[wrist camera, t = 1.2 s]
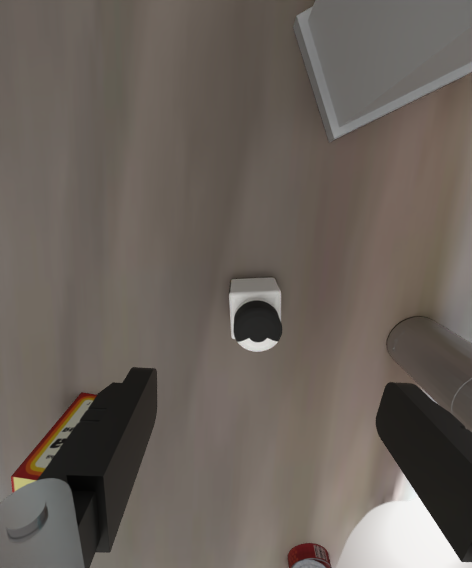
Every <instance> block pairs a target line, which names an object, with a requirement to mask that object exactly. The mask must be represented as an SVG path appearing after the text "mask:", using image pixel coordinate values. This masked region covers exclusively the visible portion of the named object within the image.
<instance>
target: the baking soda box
mask: <svg viewBox="0 0 472 568" xmlns="http://www.w3.org/2000/svg"><path fill="white" fill-rule="evenodd" d="M96 396H97V395H94V394H88V393H81V394H80V395H79V396H78V397H77V399H76V400H75V401H74V402H73V403H72V404H71V406H70V407H69V408H68V409H67V410H66V412H65V413H64V414H63V415H62V416H61V418H60V419H59V420H58V421H57V422H56V424H55V425H54V426H53V427H52V428H51V430H50V431H49V432H48V433H47V434H46V436H45V437H44V438H43V439H42V440H41V441H40V443H39V444H38V445H37V446H36V447H35V449H34V450H33V451H32V452H31V453H30V455H29V456H28V457H27V458H26V459H25V461H24V462H23V463H22V464H21V465H20V467H19V468H18V469H17V470H16V471H15V473H14V474H13V475H12V476H11V481H12V492H15V491H16V490H18V489H19V488H21V487H23V486H25V485H27V484H29V483H32V482H34V481H36V480H37V479H38V478H39V477H40V475H41V474H42V473H43V471H44V470H45V468H46V467H47V466H48V464H49V463H50V461H51V460H52V458H53V457H54V456H55V454H56V453H57V451H58V450H59V449H60V447H61V446H62V444H63V443H64V441H65V440H66V439H67V437H68V436H69V434H70V433H71V432H72V430H73V429H74V427H75V426H76V424H77V423H79V422H80V419H81V417H82V416H83V415H84V413H85V412H86V410H88V407H89V406H90V405H91V403H92V402H93V400H94V399H95V398H96Z"/></svg>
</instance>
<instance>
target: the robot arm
mask: <svg viewBox="0 0 472 568" xmlns="http://www.w3.org/2000/svg"><path fill="white" fill-rule="evenodd" d="M387 350H388V352H389V354H390V356H391V357H392V358H393V359H394V360H395V361H396V362H397V363H398V364H399V365H400V366H401V367H402V368H403V369H404V370H405V371H406V372H407V373H408V374H409V375H410V376H411V377H412V378H413V379H414V380H415V381H416V382H417V383H418V384H419V385H420V386H421V387H422V388H423V389H424V390H425V391H426V392H427V393H428V394H429V395H430V396H431V397H432V398H433V399H434V400H435V401H436V402H437V403H438V404H439V405H438V404H437V403H435V402H433V401H432V400H431V399H430V398H429V397H428V396H427V395H426V394H425V393H424V392H423V391H422V390H421V389H420V388H418V387H417V386H416V385H414V384H411V383H394V382H390V383H388V384H387V385H386V386H385V389H384V392H383V396H382V399H381V402H380V406H379V409H378V412H377V416H376V428H377V432H378V434H379V436H380V438H381V440H382V441H383V443H384V444H385V446H386V447H387V449H388V450H389V452H390V453H391V455H392V457H393V458H394V460H395V461H396V463H397V464H398V466H399V467H400V469H401V470H402V472H403V473H404V475H405V476H406V478H407V479H408V481H409V482H410V484H411V485H412V487H413V488H414V490H415V492H416V493H417V495H418V496H419V498H420V499H421V501H422V502H423V504H424V505H425V507H426V508H427V510H428V511H429V513H430V514H431V516H432V517H433V519H434V520H435V522H436V523H437V525H438V526H439V528H440V529H441V531H442V533H443V534H444V536H445V537H446V539H447V540H448V542H449V543H450V545H451V546H452V548H453V549H454V551H455V552H456V554H457V555H458V557H459V558H460V560H461V561H462V562H472V343H470V342H468V341H467V340H465V339H463V338H462V337H460V336H458V335H457V334H455V333H453V332H452V331H450V330H449V329H447V328H445V327H443V326H442V325H440V324H438V323H437V322H435V321H433V320H431V319H429V318H426V317H413V318H409V319H407V320H405V321H403V322H401V323H400V324H398V325H397V326H396V327H395V328H394V329H393V330H392V332H391V333H390V335H389V337H388V340H387ZM156 413H157V371H156V369H154V368H136V367H133V368H132V369H131V370H130V371H129V373H128V375H127V376H126V378H125V380H124V381H123V383H112V384H110V385H109V386H108V387H106V388H105V389H104V390H102V391H101V392H100V393H98V395H97V396H96V398H95V399H94V400H93V402H92V403H91V405H90V406H89V407H88V410H86V412H85V413H84V415H83V416H82V417H81V419H80V422H79V423H77V424H76V426H75V427H74V429H73V430H72V432H71V433H70V434H69V436H68V437H67V439H66V440H65V441H64V443H63V444H62V446H61V447H60V449H59V450H58V451H57V453H56V454H55V456H54V457H53V458H52V460H51V461H50V463H49V464H48V466H47V467H46V468H45V470H44V471H43V473H42V474H41V475H40V477H39V478H38V479H37V480H36V481H34V482H32V483H29V484H27V485H25V486H23V487H21V488H19V489H18V490H16V491H15V492H13V493H12V494H10V495H9V496H8V497H6V498H5V499H4V500H3V501H2V502H0V568H89V567H90V565H91V562H92V559H93V557H94V554H95V552H110V551H111V548H112V545H113V543H114V540H115V537H116V534H117V531H118V528H119V525H120V522H121V519H122V517H123V514H124V511H125V508H126V505H127V502H128V499H129V496H130V493H131V491H132V488H133V485H134V482H135V479H136V476H137V473H138V470H139V467H140V464H141V462H142V459H143V456H144V453H145V450H146V447H147V444H148V441H149V438H150V436H151V433H152V430H153V427H154V423H155V419H156Z"/></svg>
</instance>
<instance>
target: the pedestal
mask: <svg viewBox="0 0 472 568" xmlns="http://www.w3.org/2000/svg"><path fill="white" fill-rule="evenodd" d="M293 29H294V32H295V35H296V38H297V41H298V44H299V48H300V51H301V54H302V57H303V60H304V64H305V67H306V70H307V73H308V76H309V80H310V83H311V86H312V89H313V92H314V96H315V99H316V102H317V105H318V108H319V112H320V115H321V118H322V121H323V124H324V128H325V131H326V134H327V137H328V140H329V143H330V142H332V141H334V140H336V139H338V138H340V137H342V136H344V135H346V134H348V133H350V132H352V131H354V130H356V129H358V128H360V127H362V126H364V125H366V124H368V123H370V122H372V121H374V120H376V119H378V118H381V117H383V116H385V115H387V114H389V113H391V112H393V111H395V110H397V109H399V108H401V107H403V106H405V105H407V104H409V103H411V102H413V101H415V100H417V99H419V98H421V97H423V96H425V95H427V94H429V93H431V92H434V91H436V90H438V89H440V88H442V87H444V86H446V85H448V84H450V83H452V82H454V81H456V80H458V79H460V78H462V77H464V76H466V75H468V74H469V73H471V72H472V0H315V3H314V5H313V7H311V8H309V9H307V10H306V11H304V12H302V13H300V14H299V15H297V16H296V19H295V23H294V26H293Z"/></svg>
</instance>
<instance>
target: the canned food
mask: <svg viewBox="0 0 472 568" xmlns="http://www.w3.org/2000/svg"><path fill="white" fill-rule="evenodd" d="M288 562H289V568H332V567H331V564H330V560H329V556H328V552H327V550H326V549H325V548H324V547H322V546H320V545H318V544H313V543H305V544H300V545H297V546H295V547H294V548H292V549H291V550H290V552H289V553H288Z"/></svg>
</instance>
